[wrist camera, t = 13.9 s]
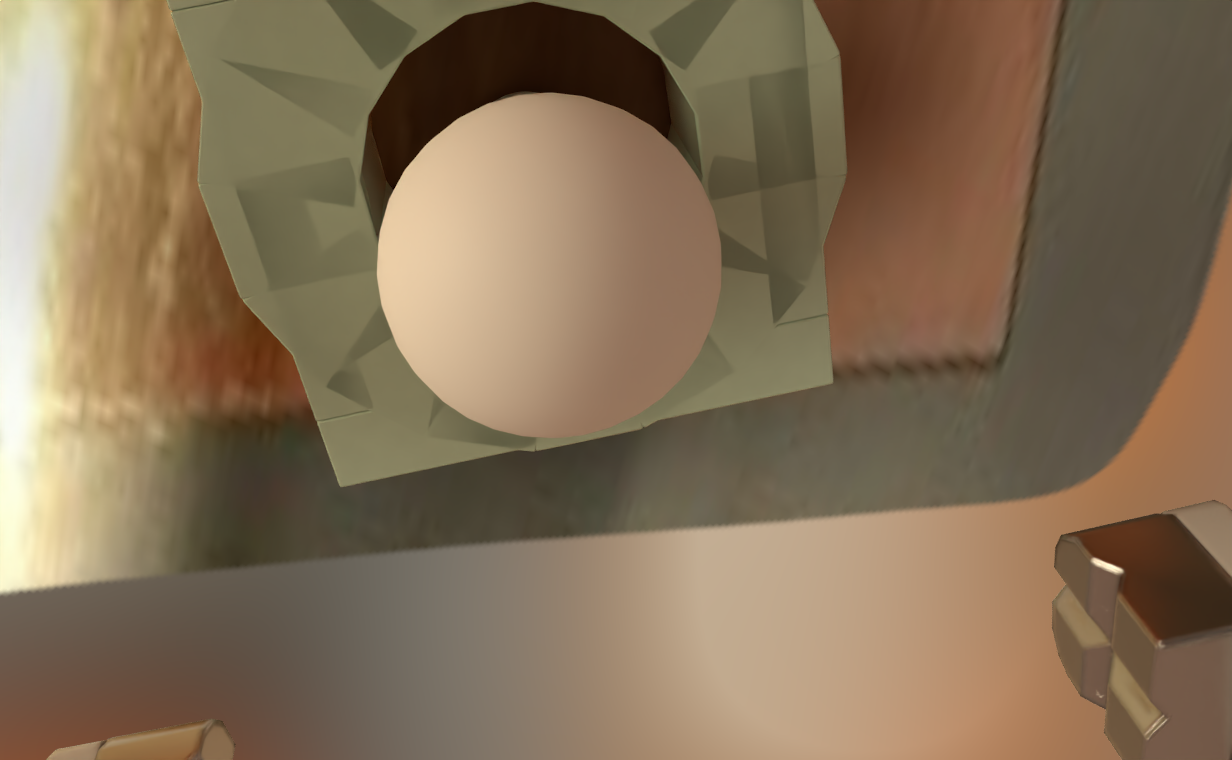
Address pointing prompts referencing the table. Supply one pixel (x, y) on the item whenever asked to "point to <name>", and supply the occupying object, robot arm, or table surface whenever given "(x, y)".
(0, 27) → the table surface
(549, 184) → the lightbulb
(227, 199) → the square stone ashtray
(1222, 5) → the table surface
